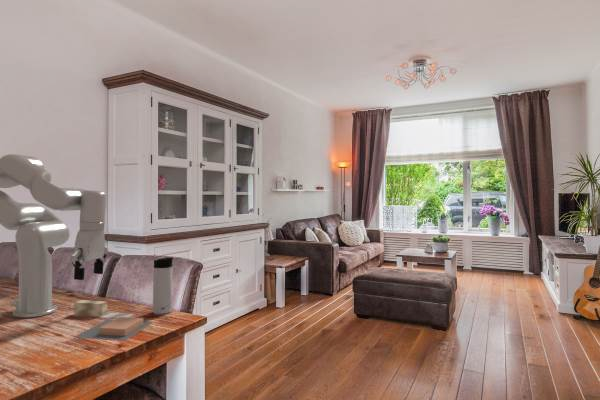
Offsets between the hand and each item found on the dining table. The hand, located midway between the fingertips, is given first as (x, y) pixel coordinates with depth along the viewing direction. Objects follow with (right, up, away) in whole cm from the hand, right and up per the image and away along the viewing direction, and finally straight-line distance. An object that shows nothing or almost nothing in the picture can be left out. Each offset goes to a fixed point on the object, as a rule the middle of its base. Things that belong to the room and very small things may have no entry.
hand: (88, 276), depth 129 cm
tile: (+14, -12, -14) cm, 23 cm away
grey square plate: (+16, -14, -14) cm, 25 cm away
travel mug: (+24, -14, +3) cm, 28 cm away
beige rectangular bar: (+5, -14, -1) cm, 15 cm away
